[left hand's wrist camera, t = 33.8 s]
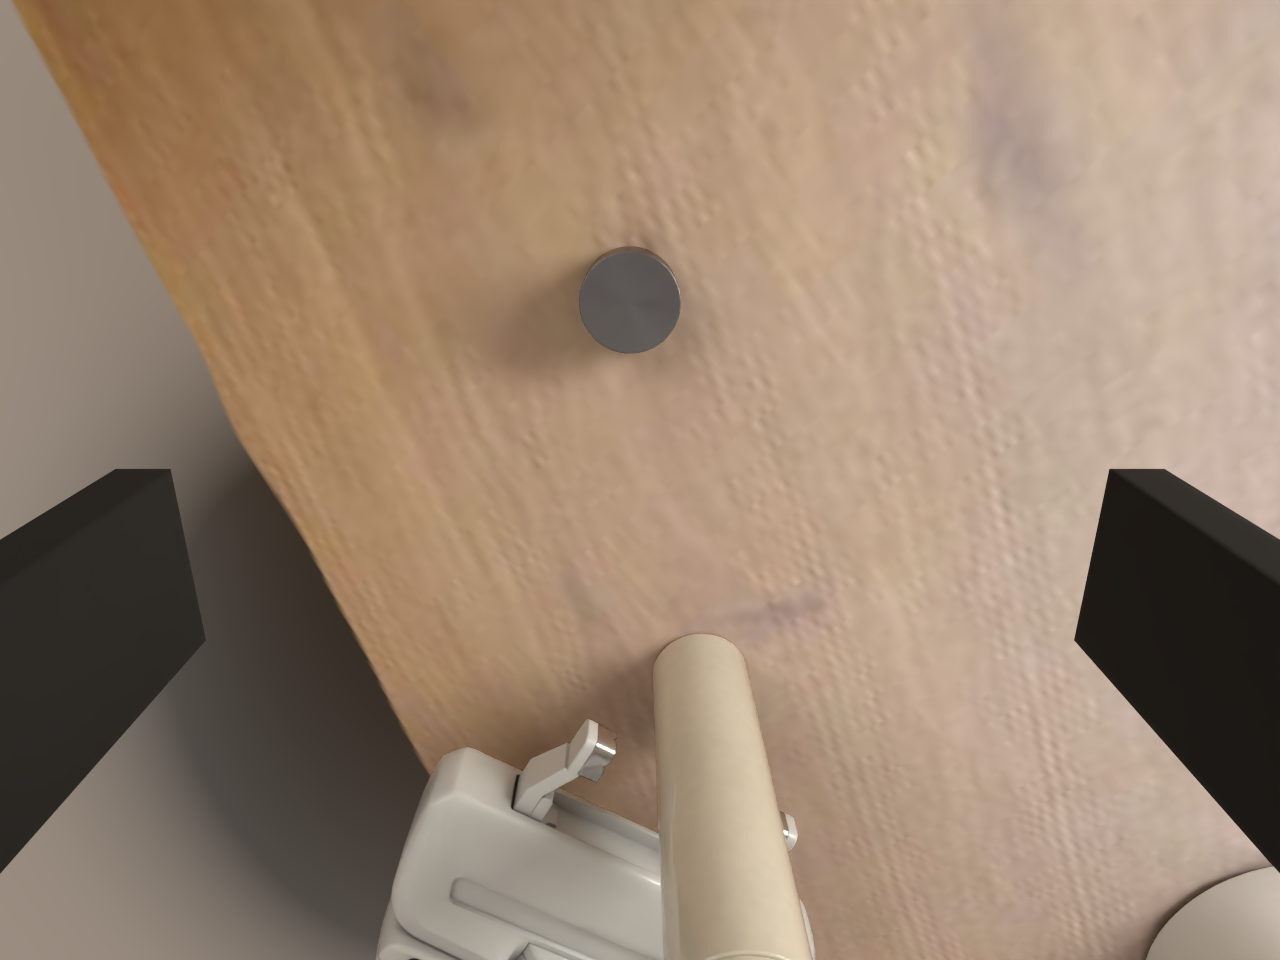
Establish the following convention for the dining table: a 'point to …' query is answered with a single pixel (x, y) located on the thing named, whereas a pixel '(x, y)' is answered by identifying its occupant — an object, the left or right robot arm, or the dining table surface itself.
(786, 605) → the dining table surface
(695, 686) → the bottle
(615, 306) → the cap
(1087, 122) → the dining table surface
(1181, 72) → the dining table surface
